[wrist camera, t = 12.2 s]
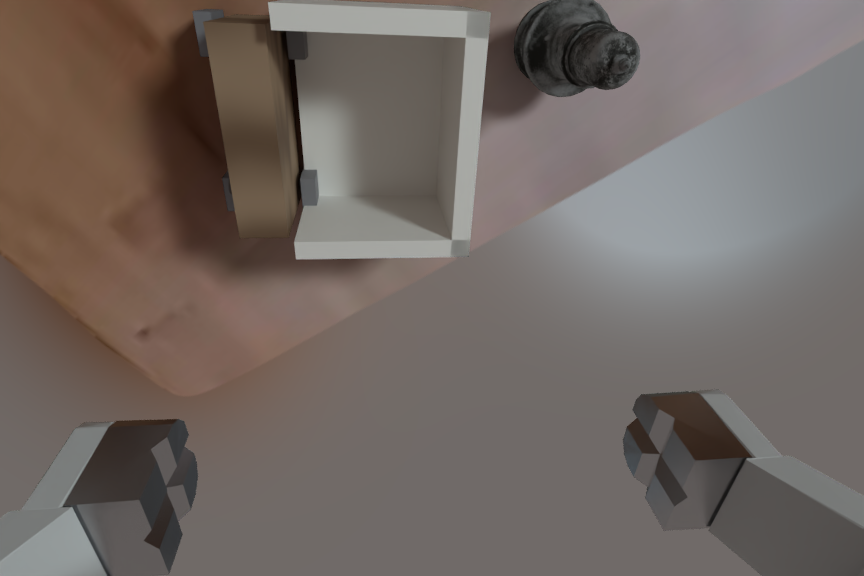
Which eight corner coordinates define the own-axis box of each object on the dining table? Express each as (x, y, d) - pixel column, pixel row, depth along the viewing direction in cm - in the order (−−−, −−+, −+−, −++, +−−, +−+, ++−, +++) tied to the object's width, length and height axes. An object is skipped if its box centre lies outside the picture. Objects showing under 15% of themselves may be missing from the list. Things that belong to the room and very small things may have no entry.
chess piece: (607, 47, 36) (705, 71, 25) (540, 105, 37) (607, 150, 27) (562, -27, 33) (653, -34, 23) (493, 39, 34) (547, 60, 24)
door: (225, 13, 32) (188, 21, 25) (285, 16, 32) (264, 24, 26) (252, 193, 38) (227, 238, 31) (301, 193, 39) (288, 237, 32)
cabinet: (203, -6, 31) (151, -3, 24) (461, 6, 33) (490, 12, 26) (238, 205, 38) (207, 260, 31) (448, 205, 40) (468, 256, 33)
